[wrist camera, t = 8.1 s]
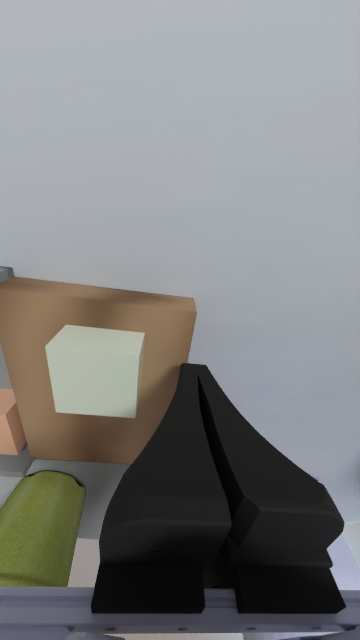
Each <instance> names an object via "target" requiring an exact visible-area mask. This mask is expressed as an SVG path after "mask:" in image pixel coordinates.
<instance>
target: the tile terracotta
mask: <svg viewBox="0 0 360 640" xmlns="http://www.w3.org/2000/svg"><path fill="white" fill-rule="evenodd" d="M26 442H27V440H26V437H25V433H24V429H23V426H22V422H21V418H20V415H19V411H18V407H17V403H16V400H15V396H14V392H13V389H1V388H0V454H6V455H18V454H19V453H20V451H21V450H22V448H23V447H24V445H25V444H26Z"/></svg>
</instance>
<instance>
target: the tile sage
mask: <svg viewBox="0 0 360 640" xmlns="http://www.w3.org/2000/svg"><path fill="white" fill-rule="evenodd" d="M144 338H145V333H141V332H131V331H122V330H112V329H103V328H93V327H84V326H74V325H65V326H64V327H63V328H62V329H61V330H60V331H59V332H58V333H57V334H56V336H55V337H54V338H53V339H52V340H51V341H50V342H49V343H48V344H47V345H46V346H45V349H46V355H47V361H48V368H49V374H50V380H51V386H52V392H53V398H54V404H55V410H56V412H58V413H72V414H85V415H99V416H113V417H126V418H135V417H136V412H137V407H138V402H139V396H140V391H141V379H142V365H143V352H144Z"/></svg>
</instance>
